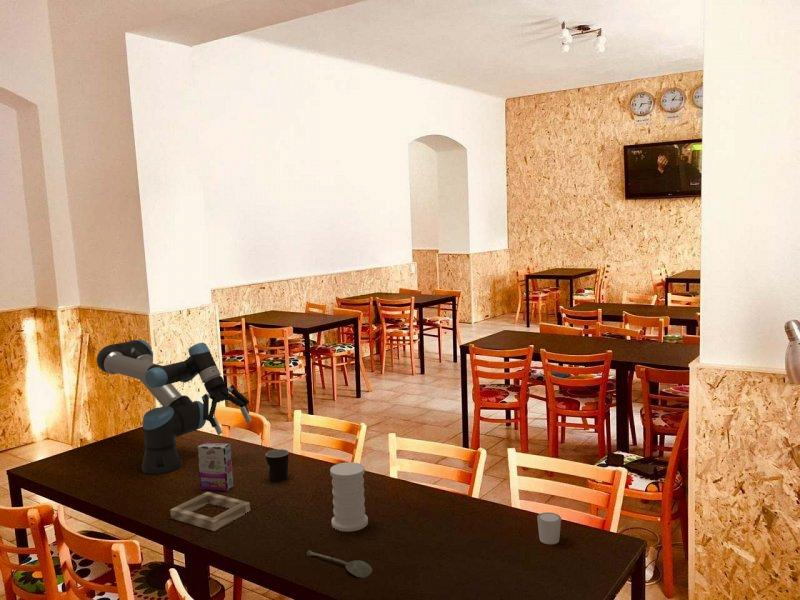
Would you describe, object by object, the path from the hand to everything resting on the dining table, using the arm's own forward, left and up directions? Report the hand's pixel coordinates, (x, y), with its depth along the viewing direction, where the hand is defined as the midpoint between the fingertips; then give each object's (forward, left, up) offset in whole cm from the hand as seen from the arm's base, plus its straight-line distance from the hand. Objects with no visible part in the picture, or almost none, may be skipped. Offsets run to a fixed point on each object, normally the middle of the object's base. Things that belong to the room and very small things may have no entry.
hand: (235, 428), depth 256 cm
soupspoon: (+78, -40, -17) cm, 90 cm away
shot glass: (+125, 0, -17) cm, 127 cm away
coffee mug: (+20, +1, -17) cm, 27 cm away
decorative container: (+66, -18, -17) cm, 71 cm away
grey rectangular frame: (+21, -34, -17) cm, 44 cm away
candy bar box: (+6, -17, -17) cm, 25 cm away
